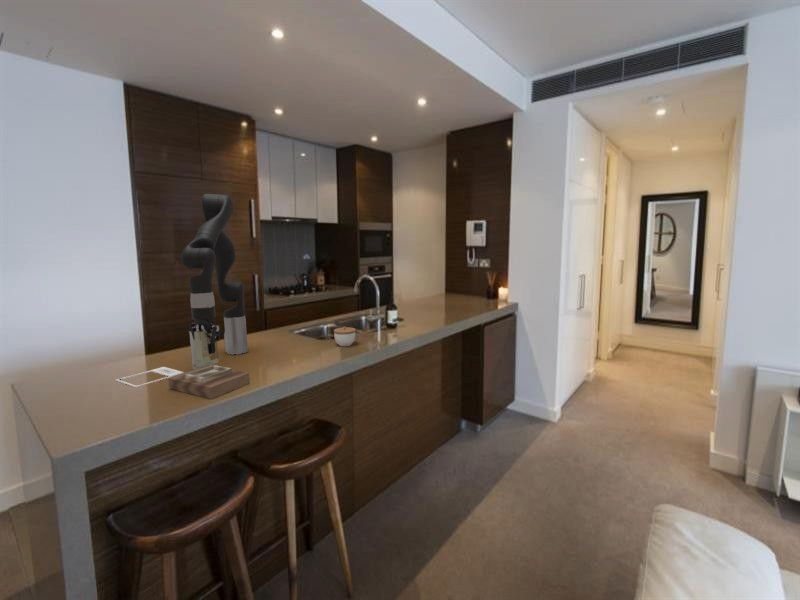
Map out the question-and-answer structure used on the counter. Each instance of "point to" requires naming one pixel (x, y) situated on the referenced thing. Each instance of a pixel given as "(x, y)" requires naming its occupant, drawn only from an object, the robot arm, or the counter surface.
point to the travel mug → (193, 352)
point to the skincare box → (204, 350)
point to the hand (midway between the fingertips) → (207, 352)
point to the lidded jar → (344, 336)
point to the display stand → (209, 381)
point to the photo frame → (160, 370)
